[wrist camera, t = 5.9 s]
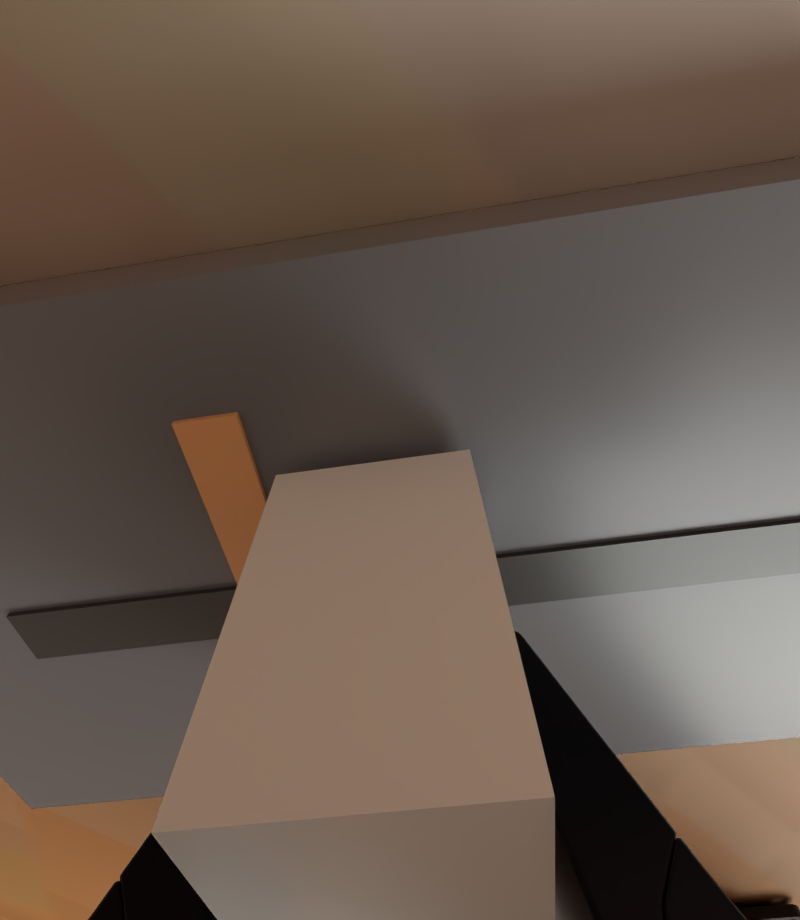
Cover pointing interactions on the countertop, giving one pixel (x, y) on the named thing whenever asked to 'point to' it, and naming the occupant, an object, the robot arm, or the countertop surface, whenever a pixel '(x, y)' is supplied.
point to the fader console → (409, 435)
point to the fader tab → (366, 715)
